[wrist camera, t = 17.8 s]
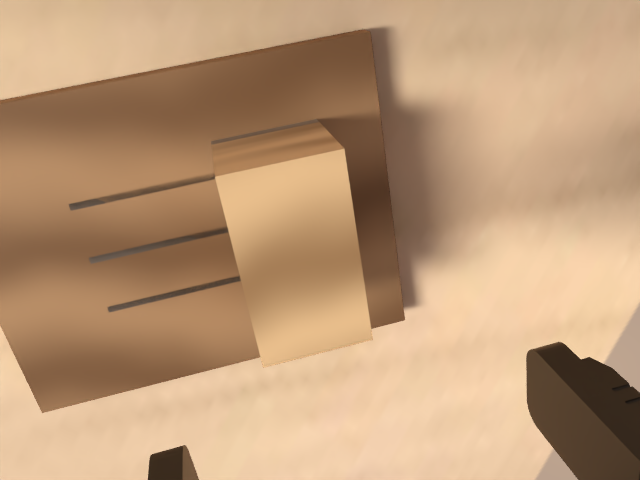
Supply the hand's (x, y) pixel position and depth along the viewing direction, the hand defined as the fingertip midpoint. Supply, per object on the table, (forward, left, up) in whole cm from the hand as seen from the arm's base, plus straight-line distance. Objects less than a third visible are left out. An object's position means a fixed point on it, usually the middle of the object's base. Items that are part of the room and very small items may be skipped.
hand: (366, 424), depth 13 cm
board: (0, -4, -15) cm, 16 cm away
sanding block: (0, 0, -14) cm, 14 cm away
